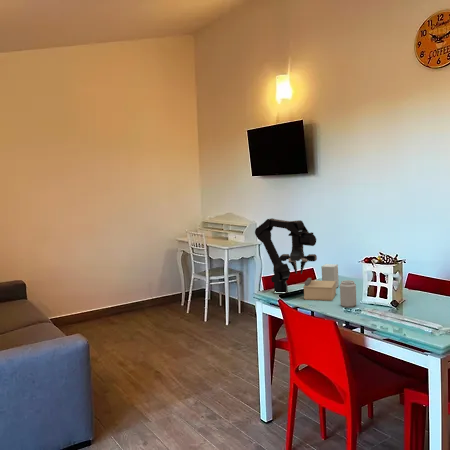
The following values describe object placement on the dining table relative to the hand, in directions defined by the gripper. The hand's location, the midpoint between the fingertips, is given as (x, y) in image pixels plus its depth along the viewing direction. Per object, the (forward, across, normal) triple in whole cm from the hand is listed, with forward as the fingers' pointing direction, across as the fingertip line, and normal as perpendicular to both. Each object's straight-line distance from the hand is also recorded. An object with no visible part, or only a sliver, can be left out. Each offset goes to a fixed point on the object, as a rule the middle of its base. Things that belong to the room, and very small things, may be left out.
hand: (298, 273), depth 252 cm
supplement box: (+12, +13, +21) cm, 28 cm away
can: (+12, +27, -14) cm, 33 cm away
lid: (+6, +11, 0) cm, 12 cm away
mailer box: (+12, +11, 0) cm, 16 cm away
